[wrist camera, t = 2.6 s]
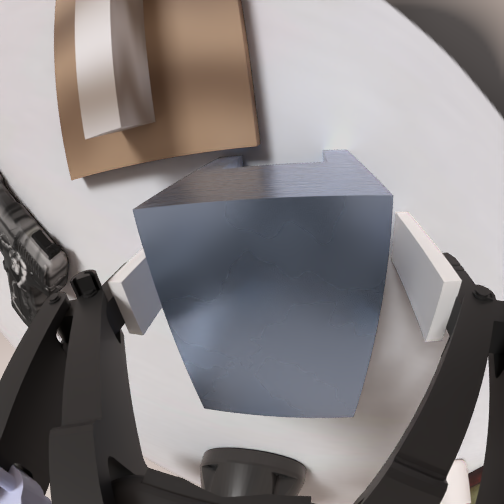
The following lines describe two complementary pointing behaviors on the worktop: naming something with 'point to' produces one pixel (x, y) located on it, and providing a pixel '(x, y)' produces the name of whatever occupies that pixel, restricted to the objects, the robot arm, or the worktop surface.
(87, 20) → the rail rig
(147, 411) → the worktop surface
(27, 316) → the handgun
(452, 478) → the cup
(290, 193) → the slate grey block
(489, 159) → the worktop surface
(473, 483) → the sculpture
